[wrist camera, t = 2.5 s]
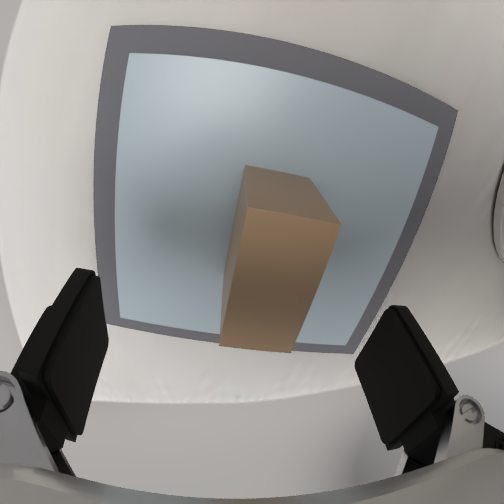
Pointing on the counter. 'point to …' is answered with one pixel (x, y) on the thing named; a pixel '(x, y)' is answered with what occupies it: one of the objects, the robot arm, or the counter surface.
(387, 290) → the mat
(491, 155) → the counter surface
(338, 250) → the sheet
